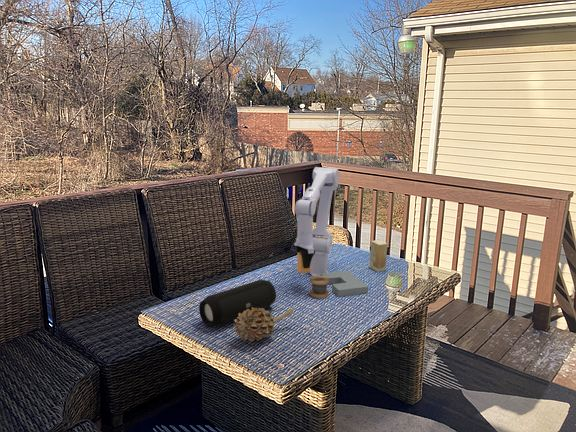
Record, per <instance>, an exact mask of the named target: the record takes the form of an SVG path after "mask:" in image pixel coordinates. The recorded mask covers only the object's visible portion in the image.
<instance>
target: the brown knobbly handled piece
mask: <svg viewBox="0 0 576 432" xmlns="http://www.w3.org/2000/svg"><path fill="white" fill-rule="evenodd" d="M265 309H266V308H265ZM265 309H263V308H262V309H260V308H259V309H258V310H257V308H253V307H252V309H251V310H249V309H247V310H246V311H244V312H243V313H239V317H237V319H235V320H233V321H234V322H235V323H234V324H233V326H235V327H236V329H235V330H234V333H236V336H239V337H240V338H241V339H243V341H245V340H247V341H248V342H253V341H255V340H256V341H257V342H258V341H261V340H262V339H265V338H266V337H268V336H269V333H270V334H273V333H274V331H275V327H274V325H275V324H276V323H277V322H279V321H280V320H283V319H284V318H285V319H286V318H287V317H289V316H290V315H294V314H295V312H294V310H295V308H293V307H292V308H290V307H288V310H287V311H286V312H284V313H282V314H280V315H278V316H277V317H273V316H272V314H271V312H270V311H268V310H265Z"/></svg>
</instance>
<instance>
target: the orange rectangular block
mask: <svg viewBox="0 0 576 432" xmlns="http://www.w3.org/2000/svg"><path fill="white" fill-rule="evenodd" d="M296 254H297V256H296V257H297V258H296V259H297V260H296V269H297V271H298V273H300V274H306V273H308V274H310V273H309V272H311V264H310V267H309V268H304V267H303V261H302V256H301V253H300V252H297V251H296Z"/></svg>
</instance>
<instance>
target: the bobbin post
mask: <svg viewBox="0 0 576 432" xmlns="http://www.w3.org/2000/svg"><path fill="white" fill-rule="evenodd" d="M309 283H310V284H311V289H310V290H309V296H310V297H312V298H315V299H316V298H317V299H326V298H327V297H329V295H330V292H329V289H328V285H329V284H328V283H329V278H328V277H325V276H311V277H310V278H309Z"/></svg>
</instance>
